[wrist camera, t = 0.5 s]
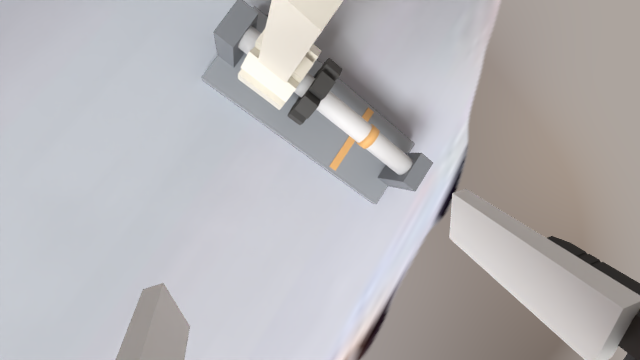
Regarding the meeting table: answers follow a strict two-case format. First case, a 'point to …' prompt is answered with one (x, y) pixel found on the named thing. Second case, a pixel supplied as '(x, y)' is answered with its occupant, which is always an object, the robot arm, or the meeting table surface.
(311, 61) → the sleeve
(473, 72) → the meeting table surface
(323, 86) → the ring
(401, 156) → the pipe stand
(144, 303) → the robot arm
